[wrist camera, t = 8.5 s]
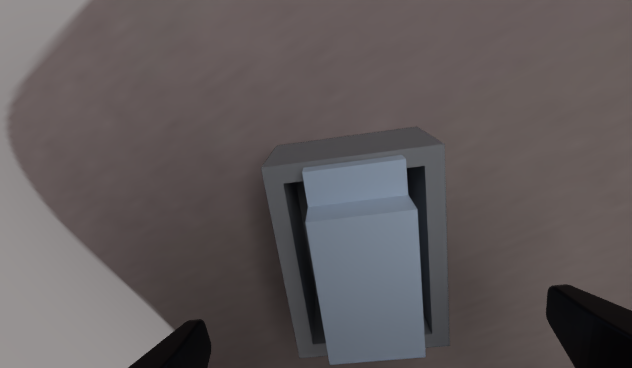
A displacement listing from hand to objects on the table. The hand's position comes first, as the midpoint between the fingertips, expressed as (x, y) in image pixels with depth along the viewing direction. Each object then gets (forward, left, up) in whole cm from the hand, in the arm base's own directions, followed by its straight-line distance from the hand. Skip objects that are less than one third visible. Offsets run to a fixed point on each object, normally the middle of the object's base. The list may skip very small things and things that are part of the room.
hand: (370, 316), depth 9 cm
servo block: (0, 0, -6) cm, 6 cm away
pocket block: (0, 0, -6) cm, 6 cm away
